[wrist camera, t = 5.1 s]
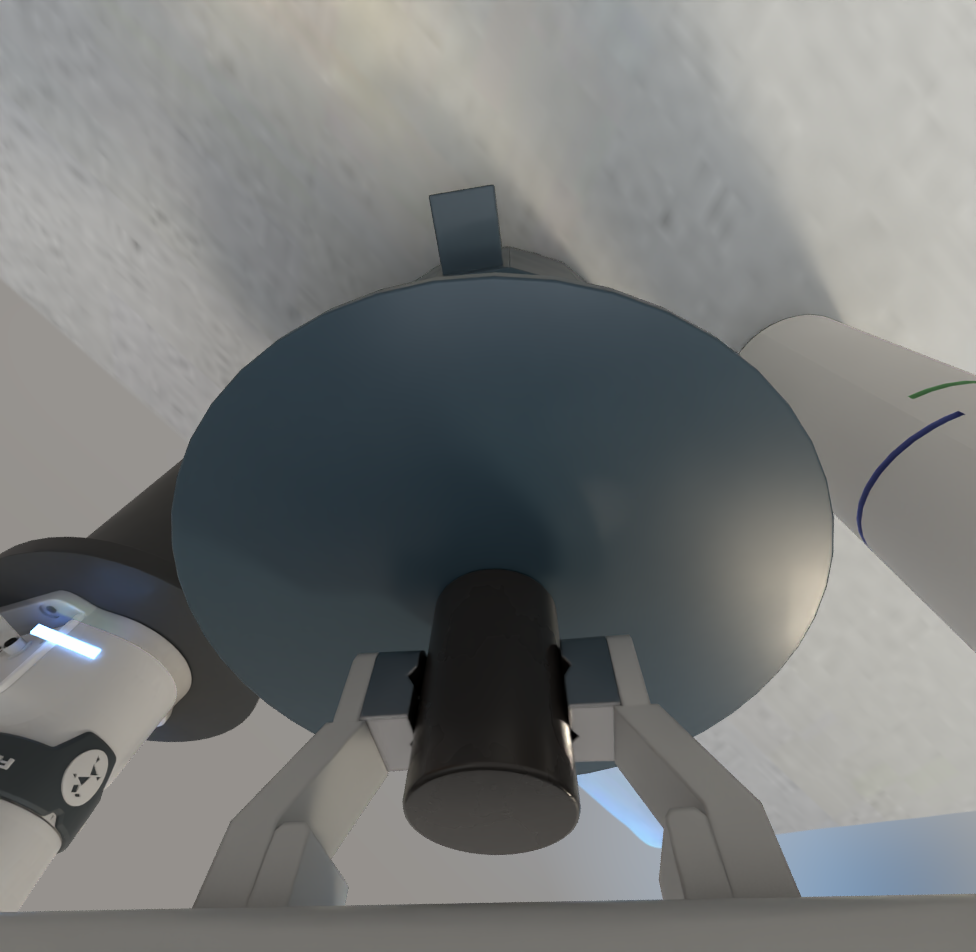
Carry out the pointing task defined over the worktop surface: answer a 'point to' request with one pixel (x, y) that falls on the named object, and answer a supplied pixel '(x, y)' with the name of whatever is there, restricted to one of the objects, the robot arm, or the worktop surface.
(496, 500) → the pot lid
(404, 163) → the worktop surface
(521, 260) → the pot
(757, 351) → the cylindrical container
